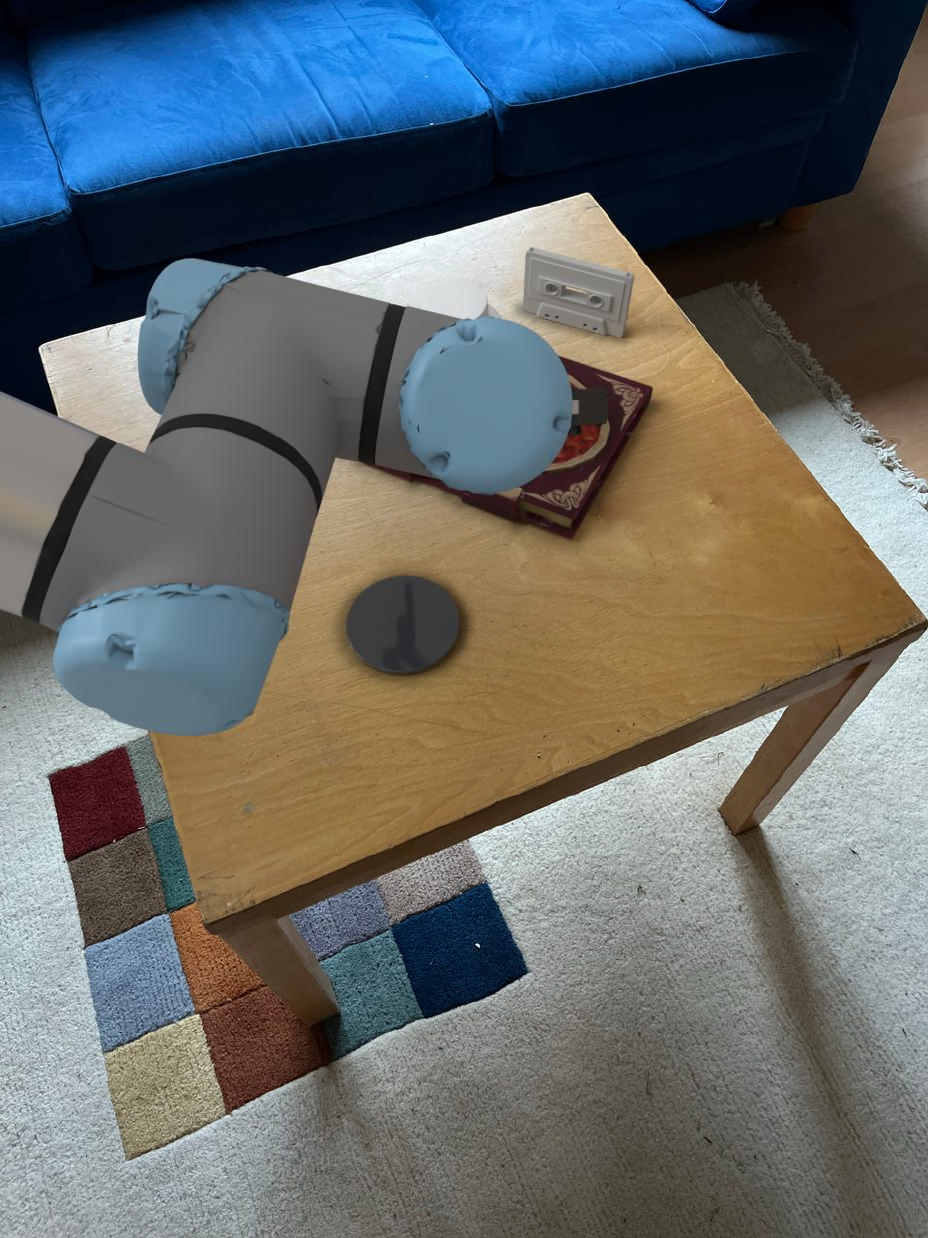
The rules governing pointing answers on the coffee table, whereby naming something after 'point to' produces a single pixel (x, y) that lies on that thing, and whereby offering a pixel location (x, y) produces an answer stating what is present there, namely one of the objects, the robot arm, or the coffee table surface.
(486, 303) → the pill bottle
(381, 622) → the coaster
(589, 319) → the cassette
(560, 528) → the book
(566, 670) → the coffee table surface
